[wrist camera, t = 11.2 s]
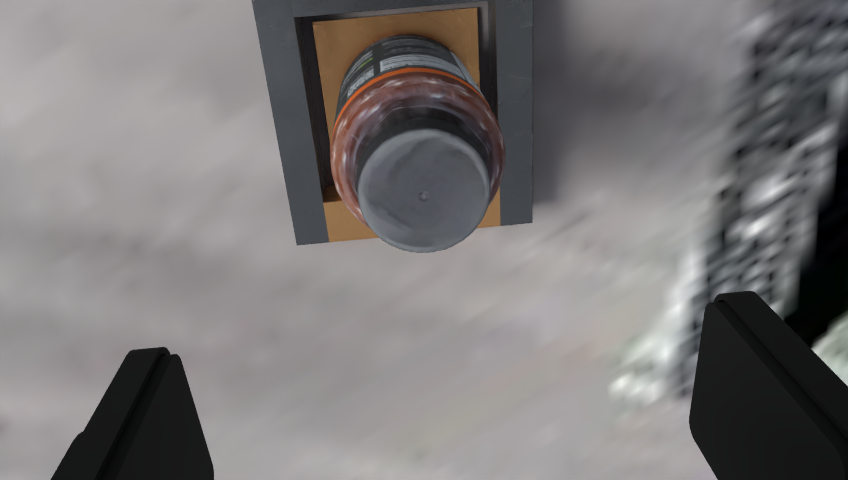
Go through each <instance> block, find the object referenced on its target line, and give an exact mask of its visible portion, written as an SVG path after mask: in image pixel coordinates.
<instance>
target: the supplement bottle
mask: <svg viewBox="0 0 848 480" xmlns="http://www.w3.org/2000/svg"><path fill="white" fill-rule="evenodd" d="M505 159H506V154H505V145H504V138H503V135H502V132H501V129H500V126H499V124H498V121H497V119H496V117H495V115H494V113H493V112H492V110H491V108H490V106H489V104H488V102H487V100H486V99H485V97H484V96H483V94H482V93H481V91H480V89H479V88H478V84H477V85H476V83H475V82H474V80H473V79H472V77H471V75H470V73H469V72H468V71H467V69H466V67H465V66H464V65H463V63H462V62H461V61H460V60H459V58H458V57H457V56H456V55H455V54H454V53H453V52H452V51H451V50H449V49H448V48H447V47H446V46H444V45H443V44H442V43H440V42H438V41H436V40H434V39H432V38H429V37H426V36H422V35H417V34H397V35H391V36H388V37H384V38H381V39H379V40H378V41H376V42H374V43H372V44H370V45H369V46H368V47H366V48H365V49H364V50H363V51H362V52H360V53H359V54H358V55H357V56H356V58H355V59H354V60H353V62H352V63H351V65H350V66H349V68H348V70H347V72H346V73H345V75H344V78H343V80H342V84H341V87H340V92H339V98H338V102H337V108H336V115H335V120H334V127H333V132H332V137H331V145H330V162H331V171H332V176H333V180H334V183H335V187H336V189H337V191H338V193H339V195H340V197H341V199H342V201H343V203H344V204H345V205H346V207H347V208H348V210H349V211H350V212H351V213H352V214H353V215H354V216H355V217H356V218H357V219H358V220H359V221H360V222H361V223H363V224H364V225H365V226H367V227H368V228H370V229H371V230H372V231H373V232H374V233H375V234H376V235H377V236H378V237H379V238H381V239H382V240H383V241H385V242H386V243H388V244H390V245H391V246H394V247H396V248H399V249H402V250H405V251H410V252H417V253H424V252H425V253H427V252H435V251H440V250H445V249H447V248H450V247H452V246H454V245H456V244H457V243H459V242H461V241H463V240H464V239H465V238H466V237H467V236H469V235H470V234H471V233H472V232H473V231H474V230H475V229H476V228H477V226H478V225H479V224H480V222H481V221H482V219H483V217H484V215H485V213H486V211H487V208H488V206H489V205H490V204H491V202H492V201H493V199H494V197H495V195H496V193H497V191H498V188H499V186H500V184H501V181H502V177H503V173H504V169H505Z"/></svg>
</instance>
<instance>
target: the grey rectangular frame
mask: <svg viewBox="0 0 848 480" xmlns="http://www.w3.org/2000/svg"><path fill="white" fill-rule="evenodd" d="M477 1H488V22H489V58H490V95H491V110H492V112H493V113H494V115H495V117H496V119H497V121H498V124H499V126H500V129H501V132H502V135H503V138H504V145H505V154H506V159H505V169H504V173H503V177H502V181H501V184H500V186H499V188H498V191H497V193H496V195H495V197H494V199H493V201H492V202H491V204H490V205H489V206H488V208H487V211H486V213H485V215H484V217H483V219H482V221H481V222H480V224H479V225H478V226H477V228H483V227H493V226H504V225H514V224H524V223H532V161H533V0H252V4H253V10H254V15H255V20H256V26H257V31H258V37H259V42H260V48H261V53H262V58H263V64H264V69H265V75H266V80H267V86H268V91H269V96H270V102H271V107H272V113H273V118H274V123H275V129H276V134H277V140H278V145H279V151H280V156H281V161H282V167H283V172H284V178H285V183H286V189H287V194H288V199H289V205H290V210H291V216H292V221H293V227H294V232H295V237H296V243H297V245H306V244H316V243H326V242H337V241H347V240H358V239H368V238H379V237H378V236H377V235H376V234H375V233H374V232H373V231H372V230H371V229H370V228H368V227H367V226H365V225H364V224H363V223H361V222H360V221H359V220H358V219H357V218H356V217H355V216H354V215H353V214H352V213H351V212H350V211H349V210H348V208H347V207H346V205H345V204H344V203H343V201H342V199H341V197H340V195H339V193H338V191H337V189H336V187H335V185H331V186H326V182H325V176H324V169H323V163H322V156H321V150H320V143H319V137H318V130H317V124H316V117H315V111H314V104H313V98H312V91H311V85H310V78H309V72H308V65H307V59H306V52H305V46H304V39H303V33H302V26H301V20H300V17H305V16H316V15H328V14H339V13H351V12H362V11H374V10H385V9H397V8H408V7H420V6H431V5H443V4H454V3H466V2H477ZM312 24H313V31H314V37H315V44H316V51H317V58H318V65H319V72H320V78H321V85H322V92H323V99H324V106H325V113H326V119H327V126H328V133H329V140H330V145H331V137H332V132H333V127H334V120H335V115H336V108H337V102H338V98H339V92H340V87H341V84H342V80H343V78H344V75H345V73H346V72H347V70H348V68H349V66H350V65H351V63H352V62H353V60H354V59H355V58H356V56H357V55H358V54H359V53H360V52H362V51H363V50H364V49H365V48H366V47H368V46H369V45H370V44H372V43H374V42H376V41H378V40H379V39H381V38H384V37H388V36H391V35H397V34H417V35H422V36H426V37H429V38H432V39H434V40H436V41H438V42H440V43H442V44H443V45H444V46H446V47H447V48H448V49H449V50H451V51H452V52H453V53H454V54H455V55H456V56H457V57H458V58H459V60H460V61H461V62H462V63H463V65H464V66H465V67H466V69H467V71H468V72H469V73H470V75H471V77H472V79H473V80H474V82H475V83H476V85H477V84H478V88H479V89H480V77H479V48H478V19H477V7H474V8H463V9H451V10H440V11H429V12H417V13H406V14H394V15H383V16H371V17H360V18H348V19H337V20H326V21H314V22H312Z"/></svg>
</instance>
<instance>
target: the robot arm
mask: <svg viewBox="0 0 848 480" xmlns="http://www.w3.org/2000/svg"><path fill="white" fill-rule="evenodd" d="M689 425H690V430H691V433H692V436H693V438H694V440H695V442H696V444H697V445H698V447H699V449H700V450H701V452H702V454H703V455H704V457H705V459H706V461H707V462H708V464H709V466H710V467H711V469H712V471H713V472H714V474H715V476H716V477H717V479H718V480H848V386H847V385H846V384H845V383H844V382H843V381H842V380H841V379H840V378H839V377H838V376H837V375H836V374H835V373H834V372H833V371H832V370H831V369H830V368H829V367H828V366H827V365H826V364H825V363H824V362H823V361H822V360H821V359H820V358H819V357H818V356H817V355H816V354H815V353H814V352H813V351H812V350H811V349H810V348H809V347H808V346H807V345H806V343H805V342H804V341H803V340H802V339H801V338H800V337H799V336H798V335H797V334H796V333H795V332H794V331H793V330H792V329H791V328H790V327H789V326H788V325H787V324H786V323H785V322H784V321H783V320H782V319H781V318H780V317H779V316H778V315H777V314H776V313H775V312H774V311H773V310H772V309H771V308H770V307H769V306H768V305H767V304H766V303H765V302H764V301H763V300H762V299H761V298H760V297H759V296H758V295H757V294H756V293H755V292H753V291H744V292H733V293H723V294H719V295H717V296H716V298H715V300H714V303H709V304H707V306H706V308H705V312H704V319H703V326H702V333H701V340H700V347H699V354H698V361H697V367H696V374H695V381H694V388H693V395H692V402H691V409H690V416H689ZM51 480H214V469H213V464H212V461H211V457H210V454H209V451H208V447H207V444H206V441H205V437H204V434H203V431H202V428H201V424H200V421H199V418H198V414H197V411H196V408H195V404H194V401H193V398H192V394H191V391H190V388H189V384H188V381H187V378H186V374H185V371H184V368H183V365H182V361H181V359H180V357H179V356H178V355H177V354H172V355H170V352H169V351H168V349H167V348H165V347H158V348H148V349H137V350H132V351H130V352H129V353H128V354H127V355H126V357H125V359H124V361H123V363H122V364H121V366H120V368H119V370H118V371H117V373H116V375H115V377H114V378H113V380H112V382H111V384H110V385H109V387H108V389H107V391H106V392H105V394H104V396H103V398H102V399H101V401H100V403H99V405H98V407H97V408H96V410H95V412H94V414H93V415H92V417H91V419H90V421H89V422H88V424H87V426H86V428H85V429H84V431H83V432H81V433H80V434H78V435H77V437H76V438H75V439H74V441H73V442H72V444H71V445H70V447H69V449H68V451H67V452H66V454H65V456H64V458H63V459H62V461H61V463H60V465H59V466H58V468H57V470H56V471H55V473H54V475H53V477H52V478H51Z"/></svg>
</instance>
